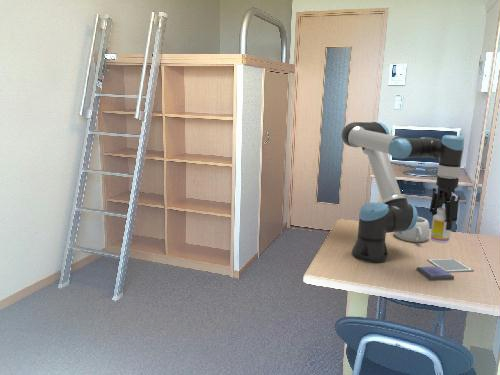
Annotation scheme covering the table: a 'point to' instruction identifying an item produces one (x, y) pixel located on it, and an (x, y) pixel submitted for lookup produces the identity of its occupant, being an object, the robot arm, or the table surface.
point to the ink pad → (435, 273)
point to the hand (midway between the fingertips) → (440, 234)
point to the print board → (450, 265)
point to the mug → (415, 232)
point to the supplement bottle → (438, 226)
